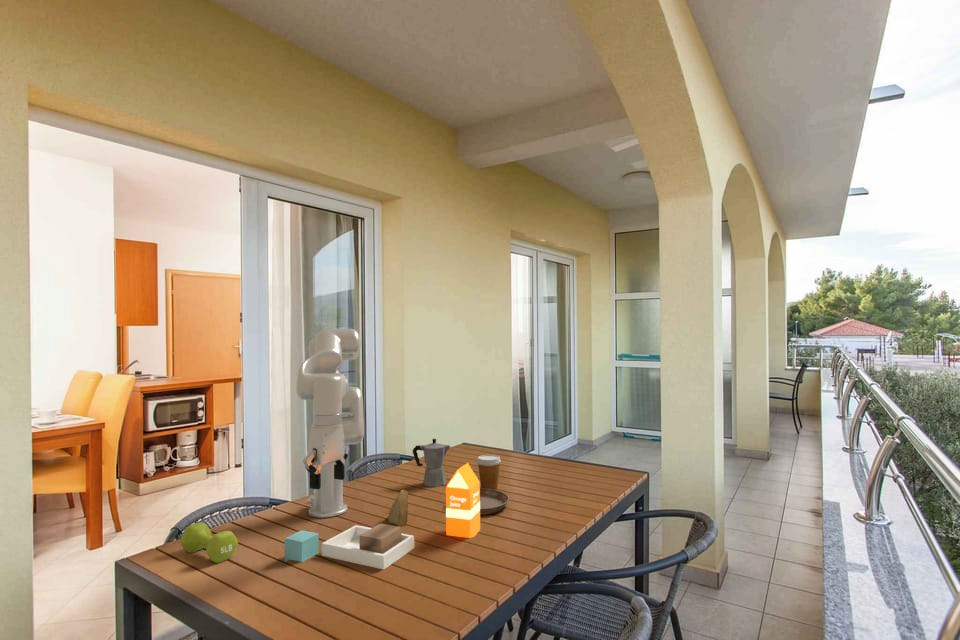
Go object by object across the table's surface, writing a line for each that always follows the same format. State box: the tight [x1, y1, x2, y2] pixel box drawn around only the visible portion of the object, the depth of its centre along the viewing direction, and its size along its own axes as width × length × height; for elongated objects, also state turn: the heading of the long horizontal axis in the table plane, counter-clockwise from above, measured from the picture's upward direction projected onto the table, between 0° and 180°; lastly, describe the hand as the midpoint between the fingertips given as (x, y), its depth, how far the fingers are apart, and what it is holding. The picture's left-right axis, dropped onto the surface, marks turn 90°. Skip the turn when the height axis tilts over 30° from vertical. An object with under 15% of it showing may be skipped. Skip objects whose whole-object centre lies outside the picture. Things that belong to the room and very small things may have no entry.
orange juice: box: [445, 462, 481, 539], centre depth 146 cm, size 8×9×20 cm
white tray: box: [321, 524, 415, 571], centre depth 132 cm, size 20×14×4 cm
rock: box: [387, 488, 409, 528], centre depth 154 cm, size 11×9×10 cm
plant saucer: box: [480, 488, 510, 516], centre depth 170 cm, size 21×21×3 cm
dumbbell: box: [179, 521, 239, 564], centre depth 133 cm, size 16×8×7 cm, turn 58°
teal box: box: [284, 529, 320, 563], centre depth 130 cm, size 6×6×6 cm
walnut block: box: [360, 523, 402, 554], centre depth 130 cm, size 7×9×6 cm
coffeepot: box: [412, 438, 451, 488], centre depth 198 cm, size 15×9×18 cm, turn 103°
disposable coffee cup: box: [476, 454, 502, 490], centre depth 190 cm, size 10×10×12 cm
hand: (327, 483), depth 133 cm, fingers open, 9 cm apart
